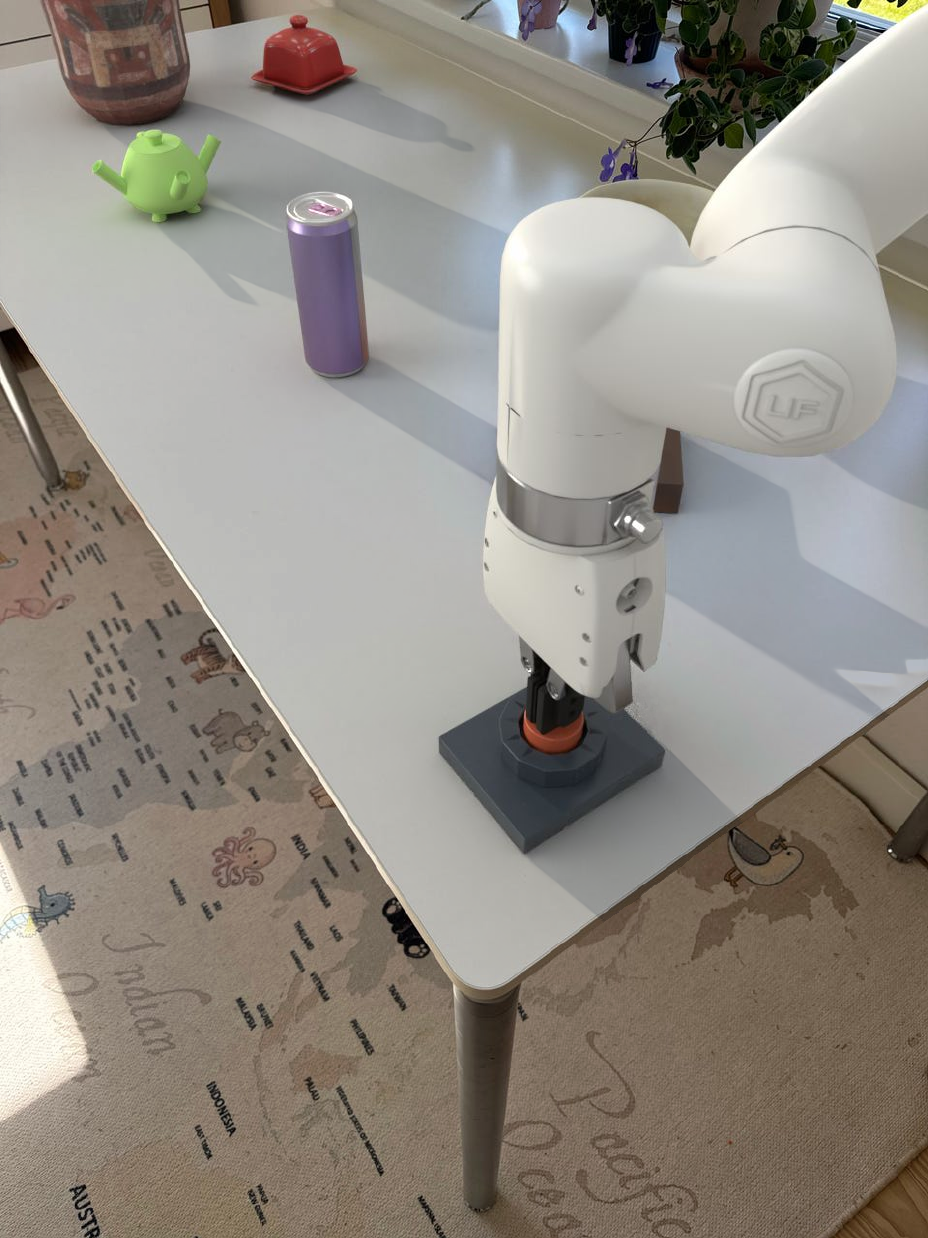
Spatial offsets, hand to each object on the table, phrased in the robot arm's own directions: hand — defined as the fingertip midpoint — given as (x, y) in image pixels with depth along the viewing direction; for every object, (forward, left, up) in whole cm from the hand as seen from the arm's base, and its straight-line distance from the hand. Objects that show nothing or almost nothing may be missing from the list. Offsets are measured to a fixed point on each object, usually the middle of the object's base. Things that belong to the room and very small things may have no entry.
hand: (554, 715), depth 61 cm
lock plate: (-2, -30, -5) cm, 30 cm away
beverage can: (+22, -43, -5) cm, 49 cm away
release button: (0, 0, -2) cm, 2 cm away
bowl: (-7, -55, -5) cm, 56 cm away
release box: (0, 0, -5) cm, 5 cm away
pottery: (+61, -101, -5) cm, 118 cm away
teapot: (+47, -72, -5) cm, 86 cm away
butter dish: (+40, -112, -5) cm, 119 cm away
